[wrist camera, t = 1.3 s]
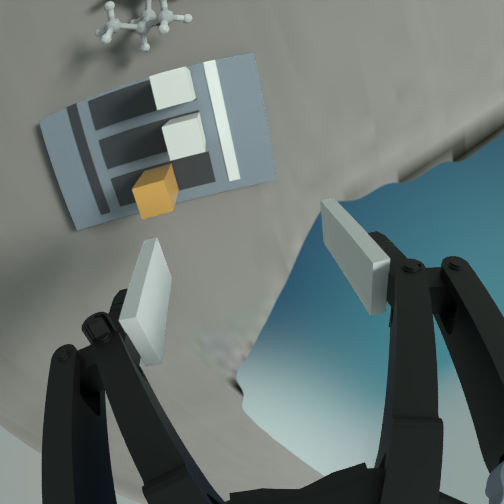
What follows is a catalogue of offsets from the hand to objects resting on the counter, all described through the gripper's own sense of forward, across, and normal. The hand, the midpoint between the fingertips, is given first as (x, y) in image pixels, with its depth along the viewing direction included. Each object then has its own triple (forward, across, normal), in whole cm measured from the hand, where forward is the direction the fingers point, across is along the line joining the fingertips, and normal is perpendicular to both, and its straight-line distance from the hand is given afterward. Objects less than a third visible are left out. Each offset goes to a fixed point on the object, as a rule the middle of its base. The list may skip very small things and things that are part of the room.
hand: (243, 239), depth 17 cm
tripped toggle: (+17, -7, 0) cm, 18 cm away
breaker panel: (+19, -7, +4) cm, 21 cm away
